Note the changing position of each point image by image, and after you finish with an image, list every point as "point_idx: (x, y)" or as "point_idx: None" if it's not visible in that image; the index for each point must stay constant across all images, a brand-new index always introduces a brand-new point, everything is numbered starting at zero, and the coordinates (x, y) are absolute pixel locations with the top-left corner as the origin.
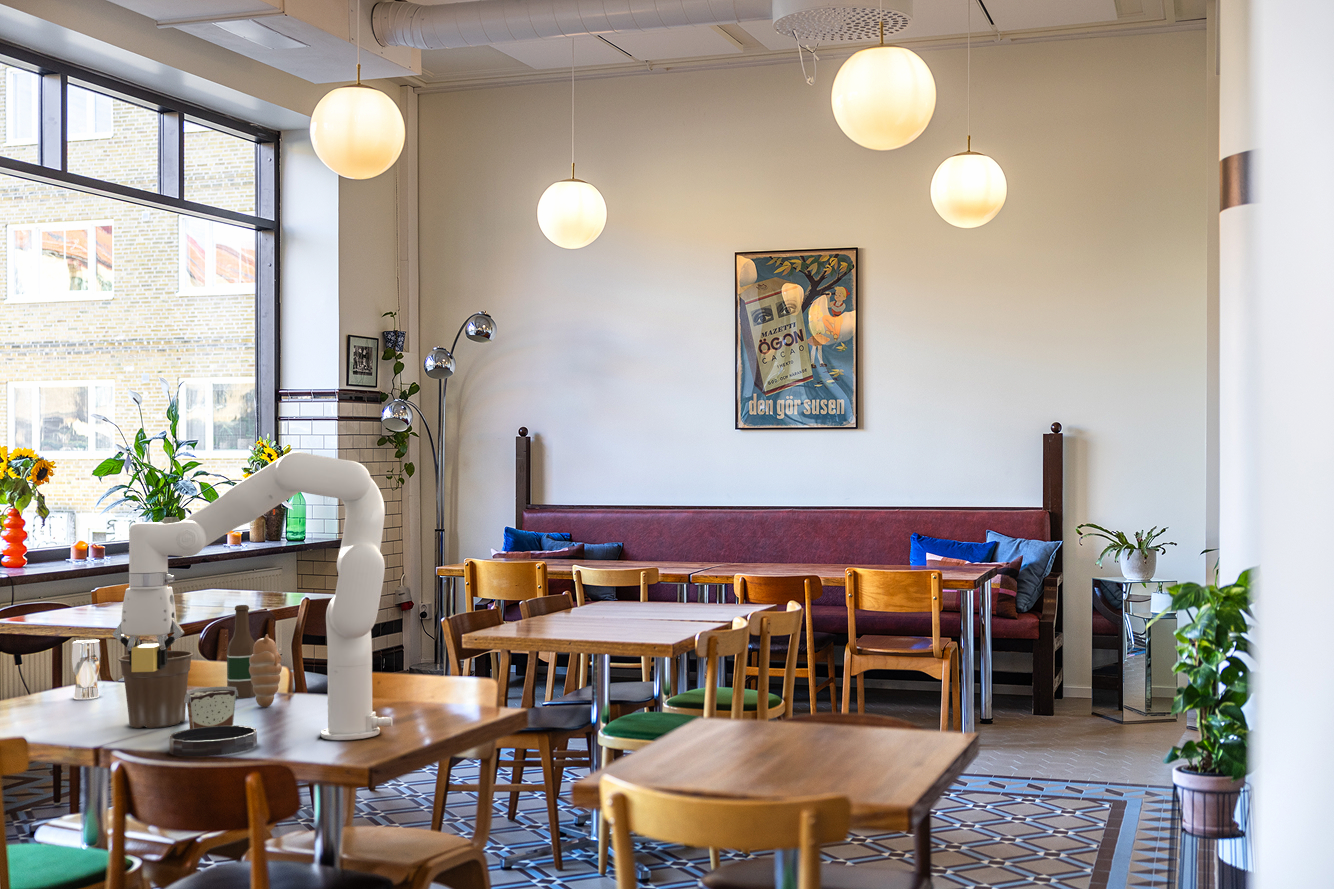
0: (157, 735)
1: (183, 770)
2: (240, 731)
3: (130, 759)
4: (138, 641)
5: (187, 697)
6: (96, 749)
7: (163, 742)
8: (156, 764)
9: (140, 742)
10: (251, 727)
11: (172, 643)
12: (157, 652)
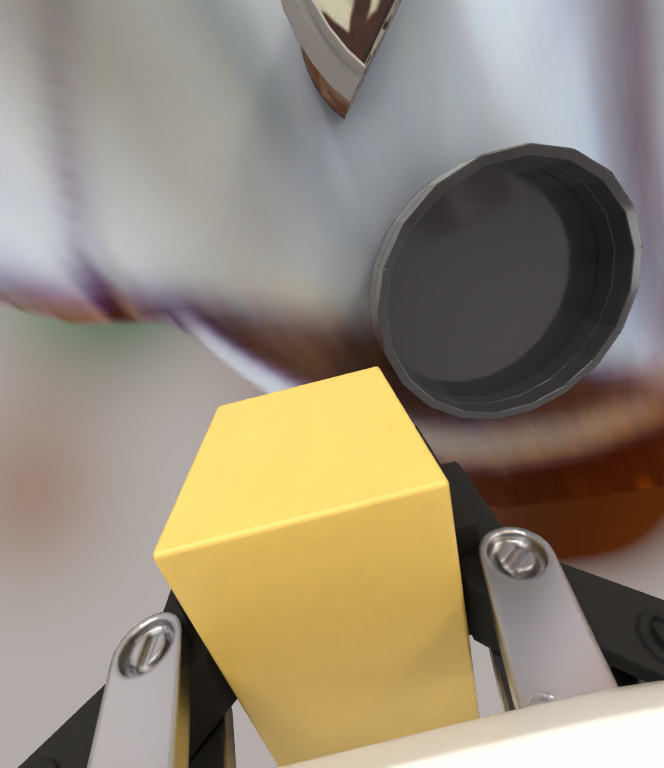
0: (139, 29)
1: (497, 494)
2: (555, 164)
3: None
4: (182, 712)
5: (343, 71)
6: (120, 320)
7: (262, 185)
8: None
9: (178, 193)
10: (614, 183)
11: (613, 583)
12: None
